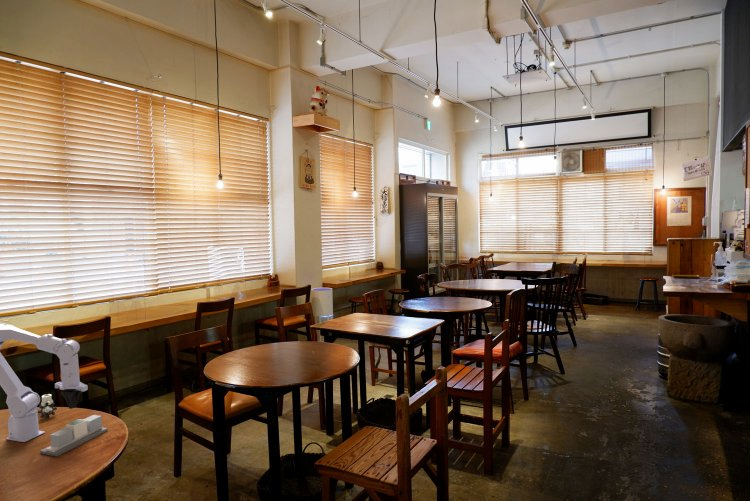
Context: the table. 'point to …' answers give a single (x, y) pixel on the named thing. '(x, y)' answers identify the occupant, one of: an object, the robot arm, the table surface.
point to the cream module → (78, 428)
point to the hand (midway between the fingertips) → (72, 407)
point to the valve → (47, 406)
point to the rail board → (64, 438)
